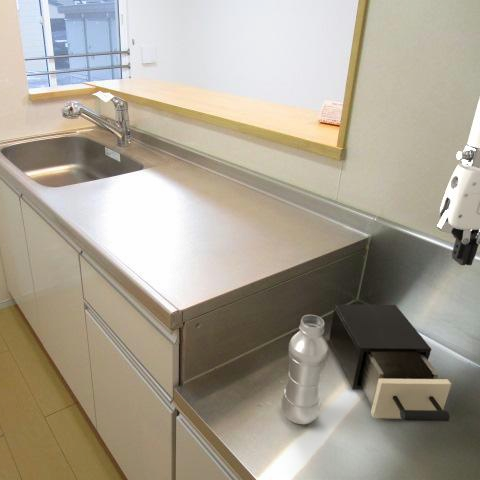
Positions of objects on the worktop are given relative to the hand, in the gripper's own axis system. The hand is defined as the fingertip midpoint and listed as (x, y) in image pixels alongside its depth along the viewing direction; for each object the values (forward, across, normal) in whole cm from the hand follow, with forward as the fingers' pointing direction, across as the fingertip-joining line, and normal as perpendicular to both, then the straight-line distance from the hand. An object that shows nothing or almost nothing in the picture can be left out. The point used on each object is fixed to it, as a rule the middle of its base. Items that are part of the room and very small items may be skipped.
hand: (461, 261), depth 79 cm
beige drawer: (+24, -10, -8) cm, 27 cm away
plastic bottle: (+25, -28, -11) cm, 39 cm away
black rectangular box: (+25, -10, +3) cm, 27 cm away
